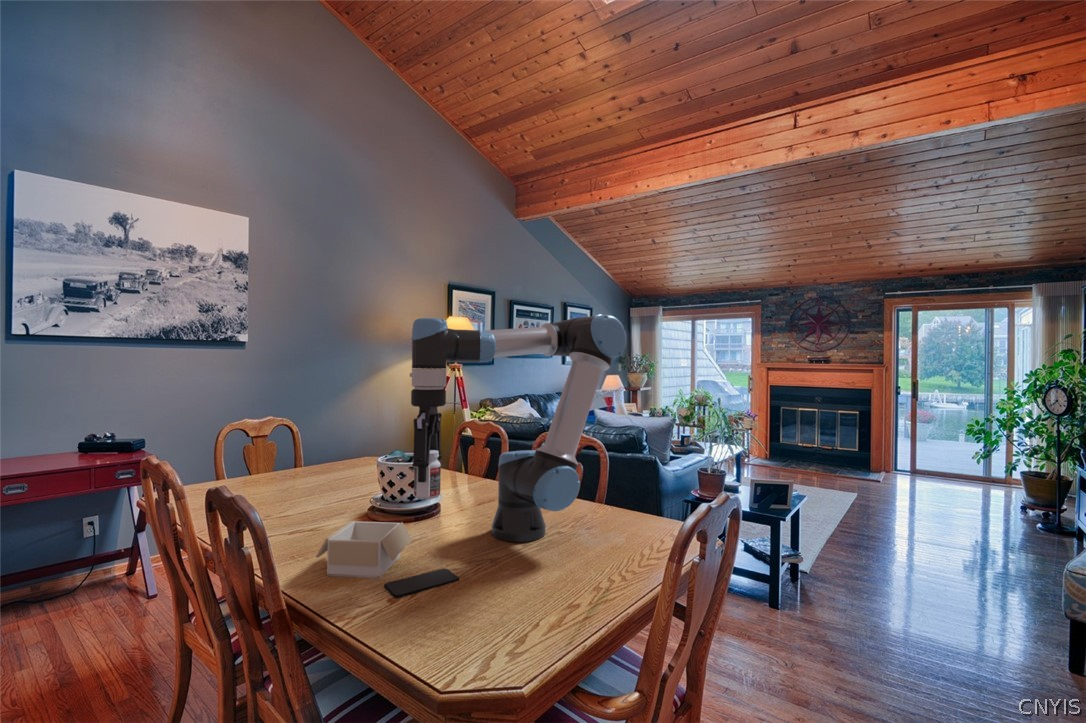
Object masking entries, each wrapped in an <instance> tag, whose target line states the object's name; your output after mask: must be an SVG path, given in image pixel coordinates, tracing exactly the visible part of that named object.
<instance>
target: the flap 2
mask: <svg viewBox="0 0 1086 723" xmlns="http://www.w3.org/2000/svg"><path fill="white" fill-rule="evenodd" d="M399 523H400V524H399V525H398V526H397V527H396V528H394V529H393V530H392V531H391V532H390V533H389V534H388V535H387V536H386V537H384V538H383V539H382V540H381V542H382V544H383V546H384V548H385V550H386V552H387V554H388V556H389V557H390V559H391V561H392V560H394V559H395V558H396V557H397V556H398V554H399V553H400V552H401V553H402V551H403V550H405V548H406V547H407V546H408V545H409V544H410V543H411V542H412V541H413V538H412V537H411V536H410V534H409V532H408V531H409V530H408V529H407V528H406V526H405V523H403V521H401V522H399Z"/></svg>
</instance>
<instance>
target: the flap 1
mask: <svg viewBox="0 0 1086 723" xmlns="http://www.w3.org/2000/svg"><path fill="white" fill-rule="evenodd" d="M352 522H354V520H350V521H349V522H347V523H346V524H344V525H343V526H341V527H339V529H337V530H336V531H335V532H333V533H332V534H330V535H328V536H327V537H326V539H325V540H324V542H323V544H322V545H321V547H320V549H319V550H318V552H317V554H316V556H315V557H316V558H320V557H321V556H322V555H323V554H325V553H326V552H328V539H330V538H331V537H333V536H334V535H335V534H337V533H338V532H340V531H341V530H343V529H344V528H345V527H347V526H348V525H350V524H351V523H352Z"/></svg>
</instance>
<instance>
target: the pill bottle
mask: <svg viewBox="0 0 1086 723" xmlns="http://www.w3.org/2000/svg"><path fill="white" fill-rule="evenodd" d="M439 456H440V455H439V451H437V450H430V454H429V465H428V466H430V496H429V497H416V484H417V467H414V469H413V471H414V472H413V476H414V477H413V478H414V480H413V496H414V498H416V499H418V500H419V499H420V500H433V499H436V498H439V497H440V496H441V480H442V479H441V478H442V477H441V473H442V472H441V471H442V470H441V466H442V465H441V462H440V461H439V460H437V458H438V457H439ZM420 460H421V459H420Z"/></svg>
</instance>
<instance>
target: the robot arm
mask: <svg viewBox="0 0 1086 723" xmlns="http://www.w3.org/2000/svg"><path fill="white" fill-rule="evenodd" d="M411 329H412V330H411V338H410V339H411V372H410V373H409V377H410V378H411V387H414V388H413V389H411V394H410V397H411V398H410V403H411V404H410V405H411V406H412V407H418V414H417V416H416V418H414V419H413V429H414V430H413V432H414V433H413V459H412V461H413V462H412V468H413V467H417V484H416V497H429V496H430V466H428V465H429V454H430V450H437V451H439V457H438V458H437V460H438V461H439V460H442V459H443V456H442V455H441V454H442V451H441V450H442V448H441V446H442V444H441V442H442V441H441V439H442V438H441V437H442V433H441V432H442V431H441V430H442V428H441V427H442V426H441V424H442V416H443V415H442V413H441V412H439V411H438V408H439V407H444V406H445V405H446V403H447V402H446V401H447V398H446V396H447V391H446V388H445V387H446V386H447V363H451V362H452V363H453V362H454V363H478V364H479V363H480V364H481V363H489V362H491V361H492V360H493V359H494V358H503V357H504V358H505V357H514V356H515V357H516V356H525V355H526V356H527V355H538V354H542V355H544V356H545V357H554V356H556V357H569V358H570V360H571V365H570V369H569V372H568V374H567V377H566V381H565V383H564V386H563V389H562V391H561V395H560V397H559V401H558V403H557V406H556V409H555V412H554V415H553V418H552V421H551V424H550V426H549V429H548V433H547V435H546V438H545V440H544V443H543V445H542V446H540V447H538V448H536V449H535V450H534V449H532V450H531V449H530V450H529V449H527V450H526V449H525V450H515V451H514V450H513V451H505V452H502V453H501V454H500V455H499V458H498V465H497V467H498V487H497V488H498V491H497V492H498V493H497V494H498V496H497V498H498V500H497V501H498V502H497V503H498V504H497V505H498V506H497V509H496V511H495V514H494V517H493V520H492V523H491V535H492V536H493V537H494V538H495V539H498V540H500V541H504V542H511V543H525V542H526V543H527V542H532V541H536V540H539V539H542V538H543V537H544V536H545V535H546V523H545V519H544V516H543V513H542V510H541V509H543V510H546V511H551V512H560V511H563V510H565V509H567V508H569V507H570V506H571V505H572V504H573V503H574V502H575V500H576V498H577V497H578V495H579V491H580V488H581V481H580V477H579V474H578V472H577V469H578V465H579V463H578V461H577V459H576V454H577V450H578V447H579V443H580V440H581V439H582V438H581V437H582V435H583V432H584V428H585V426H586V423H587V421H588V420H587V419H588V416H589V413H590V410H591V408H592V405H593V404H592V403H593V401H594V399H595V395H596V392H597V390H598V386H599V383H600V380H601V377H602V373H603V372H606V371H608V370H609V369H610V367H611V364H612V362H613V359H615V358H617V357H619V356H621V355H622V354H623V353H624V351H625V349H626V346H627V333H626V331H625V329H624V325H623V324H622V322H621V321H620V320H619V319H618V318H617V317H615V316H613V315H611V314H596V315H592V316H580V317H574V318H573V317H572V318H570V319H566V320H561V321H557V322H548V323H543V324H542V325H541V326H539V327H537V326H535V327H524V328H523V327H522V328H521V327H519V328H504V329H503V328H501V329H488V330H487V329H486V330H481V329H479V330H477V329H475V330H474V329H473V330H472V329H454V328H449V327H448V322H447V320H446V319H443V318H436V317H435V318H433V317H420V318H417V319H415V320H414V321H413V324H412V328H411ZM444 388H445V389H444ZM420 459H421V460H420ZM416 497H415V498H416Z"/></svg>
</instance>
